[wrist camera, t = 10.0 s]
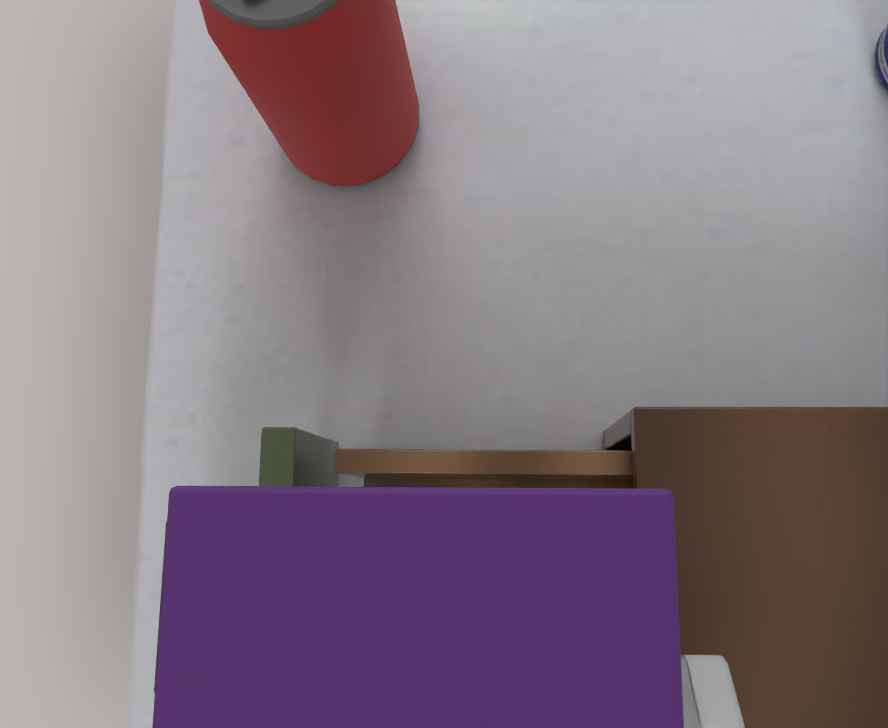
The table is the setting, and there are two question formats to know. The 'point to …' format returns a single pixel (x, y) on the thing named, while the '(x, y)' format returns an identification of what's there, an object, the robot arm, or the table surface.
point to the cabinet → (778, 551)
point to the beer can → (323, 80)
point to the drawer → (431, 467)
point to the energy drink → (882, 58)
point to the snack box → (419, 608)
